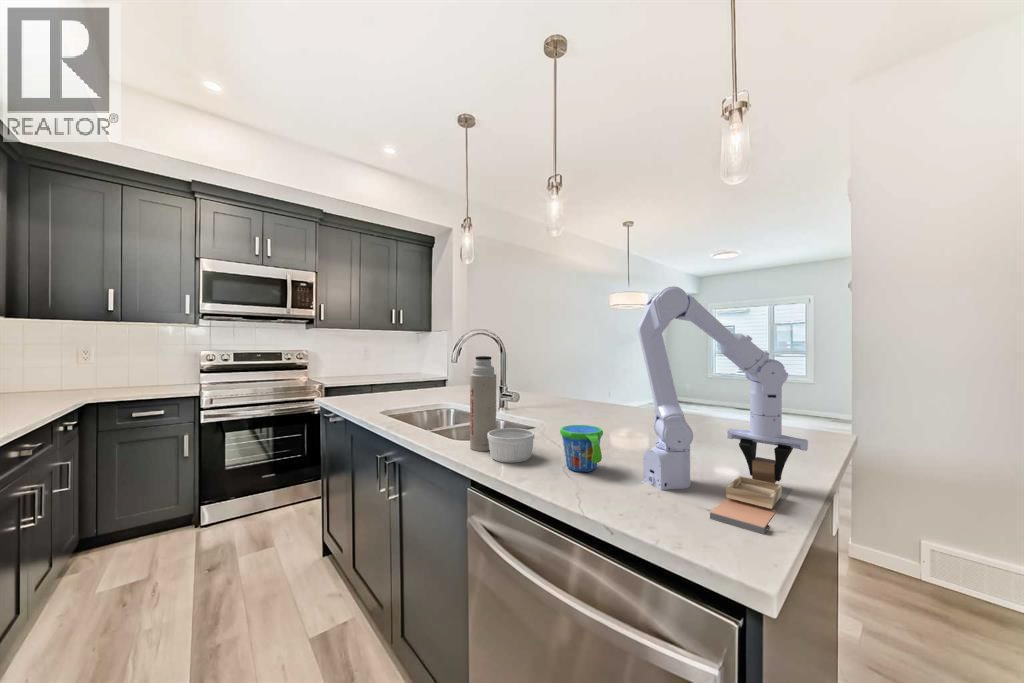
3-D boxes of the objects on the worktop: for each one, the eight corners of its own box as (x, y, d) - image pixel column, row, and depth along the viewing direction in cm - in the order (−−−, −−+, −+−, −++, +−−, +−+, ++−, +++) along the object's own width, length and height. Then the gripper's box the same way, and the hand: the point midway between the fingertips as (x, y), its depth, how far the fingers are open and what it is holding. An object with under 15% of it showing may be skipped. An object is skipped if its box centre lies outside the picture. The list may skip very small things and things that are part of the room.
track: (763, 534, 66) (763, 528, 66) (709, 518, 72) (709, 512, 72) (792, 493, 83) (792, 488, 83) (747, 483, 89) (747, 478, 89)
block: (774, 484, 82) (774, 464, 82) (752, 479, 84) (752, 460, 84) (778, 479, 84) (778, 460, 84) (757, 474, 87) (757, 456, 87)
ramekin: (512, 448, 119) (512, 425, 119) (544, 457, 110) (544, 432, 110) (478, 457, 110) (478, 432, 110) (509, 468, 101) (509, 441, 101)
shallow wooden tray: (771, 511, 72) (771, 498, 72) (726, 499, 77) (726, 487, 77) (782, 497, 78) (782, 485, 78) (739, 487, 83) (739, 476, 83)
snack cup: (552, 460, 107) (552, 423, 107) (588, 458, 109) (588, 421, 109) (573, 480, 91) (573, 436, 92) (614, 477, 94) (614, 434, 94)
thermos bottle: (469, 451, 116) (469, 356, 116) (470, 444, 123) (470, 355, 124) (496, 450, 116) (496, 356, 116) (495, 444, 124) (495, 355, 124)
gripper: (810, 416, 82) (810, 481, 82) (733, 407, 92) (733, 465, 92) (804, 421, 77) (804, 490, 77) (724, 411, 87) (724, 472, 87)
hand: (765, 477), depth 84 cm, fingers closed on block, 4 cm apart
